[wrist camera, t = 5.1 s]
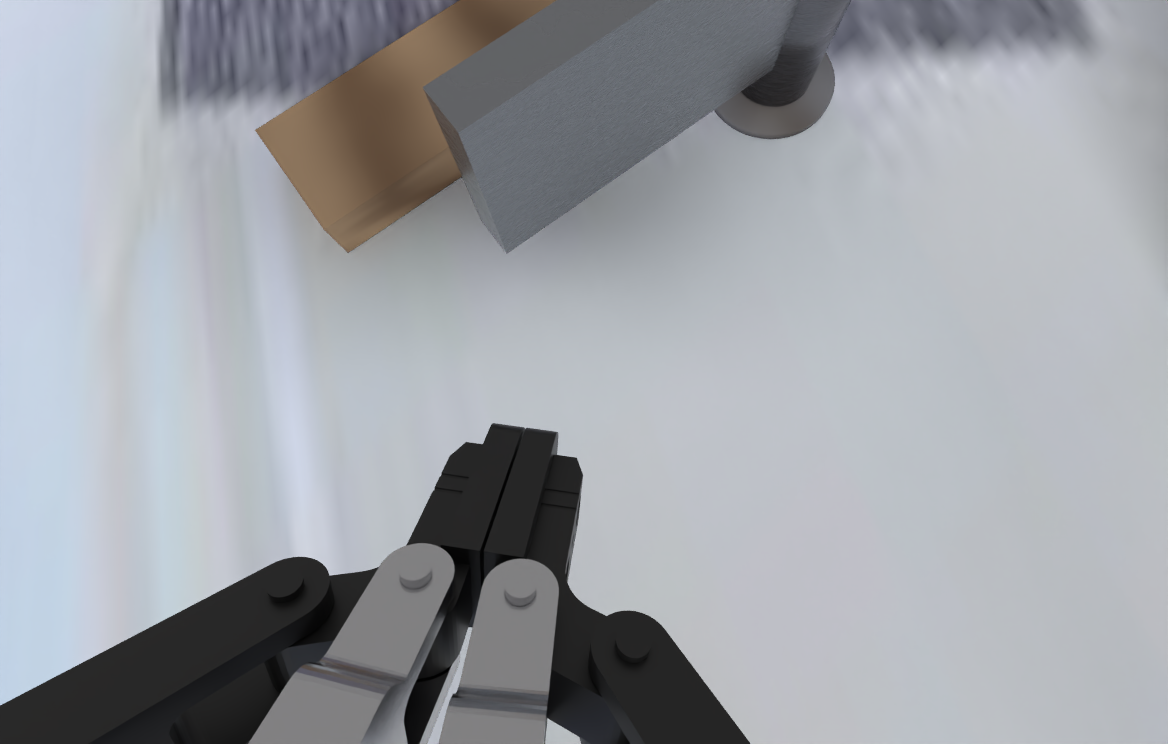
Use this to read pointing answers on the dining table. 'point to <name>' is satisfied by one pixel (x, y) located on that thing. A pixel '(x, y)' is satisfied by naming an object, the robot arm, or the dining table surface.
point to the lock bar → (611, 93)
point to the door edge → (432, 122)
